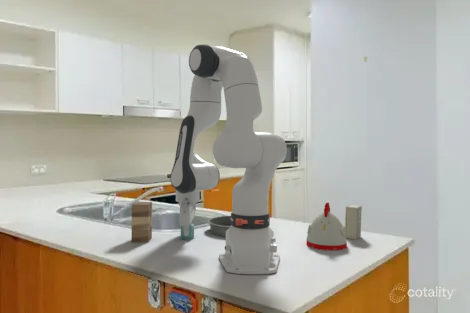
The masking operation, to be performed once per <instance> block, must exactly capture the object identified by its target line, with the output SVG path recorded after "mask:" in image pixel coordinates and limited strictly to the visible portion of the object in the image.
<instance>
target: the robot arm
mask: <svg viewBox="0 0 470 313" xmlns="http://www.w3.org/2000/svg"><path fill="white" fill-rule="evenodd" d="M188 66H189V70H190V71H191V73H193V78H192V82H191V88H190V97H189V108H188V112H187V115H186V116H185V117H184V118H183V119H182V121H181V124H180V128H179V134H178V139H177V146H176V152H175V157H174V163H173V165H172V169H171V173H170V176H169V178H170V183H171V186H172V187H173V189H175V202H177V203H178V206H179V221H178V222H179V226H180V227H181V226H183V230H184V236H188V235H189V226H190V224H193V223H192V221H193V220H194V218H195V215H196V208H197V203H199V202H200V200H201V199H200V197H201V196H200V195H201V194H200V192H201V191H207V190H212V189H216V187H217V185H218V184H219V183H220V178H221V176H220V170H219V168H218V167H217V165H215V164H214V163H210V162H208V161H206V160H204V159H203V158H201V156H200V155H199V154H198V153H197V152H194V150H195V149H194V148H195V141H196V139H197V137H198V136H199V135H200V134H201V133H202V132H204V131H206V130H209V129H210V128H212V127H214V126H215V125H216V124H217V123H218V122H219V121H220V118H221V114H222V91H223V94H224V101H225V109H226V112H225V113H226V119H225V125H224V127H223V130H222V131H221V133H220V134H218V136H217V137H216V138H215V140H214V142H213V144H212V156H213V158H214V159H215V161H216V163H217V164H218V165H219V166H222V167H225V168H231V169H245V171H244V173H243V175H242V177H241V178H240V180H239V181H238V182H236V183H235V184H234V185H233V188H232V198H231V199H232V200H231V202H232V203H231V204H232V207H231V210H232V211H231V212H230V216H231V217H230V220H231V227H230V228H229V229H228V230H227V231H226V236H225V246H224V250H225V251H224V252H223V253H220V254H219V255H218V259H219V261H220V263H221V264H222V266H223V268H224V270H225V271H226V272H227V273H230V274H237V275H269V274H275V273H277V271H278V268H279V266H280V265H279V264H280V261H281V255H280V254H277V252H278V251H277V249H278V245H277V244H275V243H276V237H275V236H274V230H273V229H271V227H270V221H271V218H270V212H269V201H270V200H269V198H270V197H269V196H270V187H271V184H272V181H273V177H274V175H275V172H276V170H277V169H278V167H279V166H280V165H281V164H282V163H283V162H284V161H285V160H286V157H287V152H288V146H287V144H286V141H285V139H284V138H283V137H282V136H281V135H278V134H274V133H271V132H258V131H254V121H255V120H256V119H258V118H259V117H260V116H261V114H262V112H263V105H262V97H261V94H260V93H261V91H260V87H259V81H258V78H257V74H256V70H255V68H254V65H253V63H252V60H251V59H250V57H249V56H248V55H247V54H246V53H243V52H242V51H240V50H239V51H238V50H233V49H230V48H227V47H225V46H220V45H218V46H217V45H209V44H206V43H205V44H197V45H195V46H194V47H193V48H192V50H191V51H190V53H189V57H188Z"/></svg>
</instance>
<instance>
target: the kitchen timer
mask: <svg viewBox="0 0 470 313" xmlns="http://www.w3.org/2000/svg"><path fill="white" fill-rule="evenodd" d="M347 244H348V240H347V238H346V230H345V225H344V226H343V224H342V222H341V219H339V218H338V217H337V215H335V214H334V213H332V212H331V208H330V203H329V202H326V203H325V204H324V209H323V212H321V213H320V214H318V215H317V216H315V218H314V219H313V220H312V222H311V224H309V225H308V228H307V236H306V246H308V247H310V248H312V249H314V250H315V249H316V250H323V251H341V250H344V249H347V247H348V246H347Z"/></svg>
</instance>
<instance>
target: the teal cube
mask: <svg viewBox="0 0 470 313" xmlns="http://www.w3.org/2000/svg"><path fill="white" fill-rule="evenodd" d="M180 239H181V240H184V241H187V240H188V241H189V240H193V239H195V224H194V223H191V224H190V226H189V235H188V236H184V230H183V226H180Z"/></svg>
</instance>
